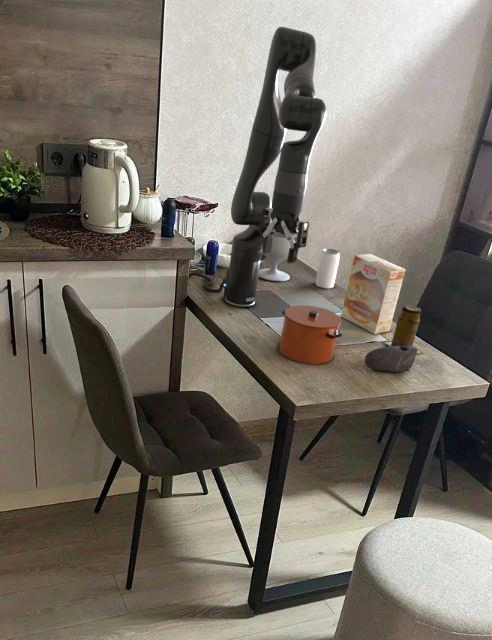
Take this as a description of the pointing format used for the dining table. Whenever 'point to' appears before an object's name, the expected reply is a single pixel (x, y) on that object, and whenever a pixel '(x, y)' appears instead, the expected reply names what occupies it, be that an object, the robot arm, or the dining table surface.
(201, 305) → the dining table surface
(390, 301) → the coffeecake box
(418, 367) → the dining table surface
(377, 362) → the perforated stone tool
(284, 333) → the pot
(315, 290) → the dining table surface
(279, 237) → the chalice
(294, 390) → the dining table surface
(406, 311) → the condiment
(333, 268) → the can
